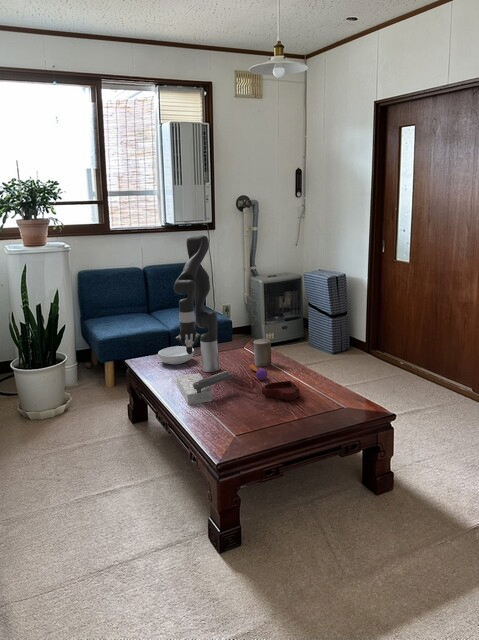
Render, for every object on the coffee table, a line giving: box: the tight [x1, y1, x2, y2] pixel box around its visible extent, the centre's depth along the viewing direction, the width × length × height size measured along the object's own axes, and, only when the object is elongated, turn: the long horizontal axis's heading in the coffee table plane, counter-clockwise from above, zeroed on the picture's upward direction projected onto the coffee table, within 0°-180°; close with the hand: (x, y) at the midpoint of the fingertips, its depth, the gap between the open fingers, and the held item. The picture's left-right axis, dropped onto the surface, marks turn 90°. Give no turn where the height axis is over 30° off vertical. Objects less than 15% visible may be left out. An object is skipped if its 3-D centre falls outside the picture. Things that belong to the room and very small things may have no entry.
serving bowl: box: [157, 345, 195, 365], centre depth 327 cm, size 21×21×7 cm
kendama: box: [249, 363, 268, 381], centre depth 299 cm, size 6×6×20 cm
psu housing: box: [176, 372, 214, 406], centre depth 277 cm, size 12×28×7 cm, turn 17°
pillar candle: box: [253, 338, 273, 368], centre depth 315 cm, size 10×10×15 cm
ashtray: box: [261, 380, 300, 402], centre depth 269 cm, size 18×16×5 cm
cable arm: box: [193, 370, 234, 389], centre depth 271 cm, size 5×22×3 cm, turn 134°
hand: (189, 353), depth 278 cm, fingers closed
